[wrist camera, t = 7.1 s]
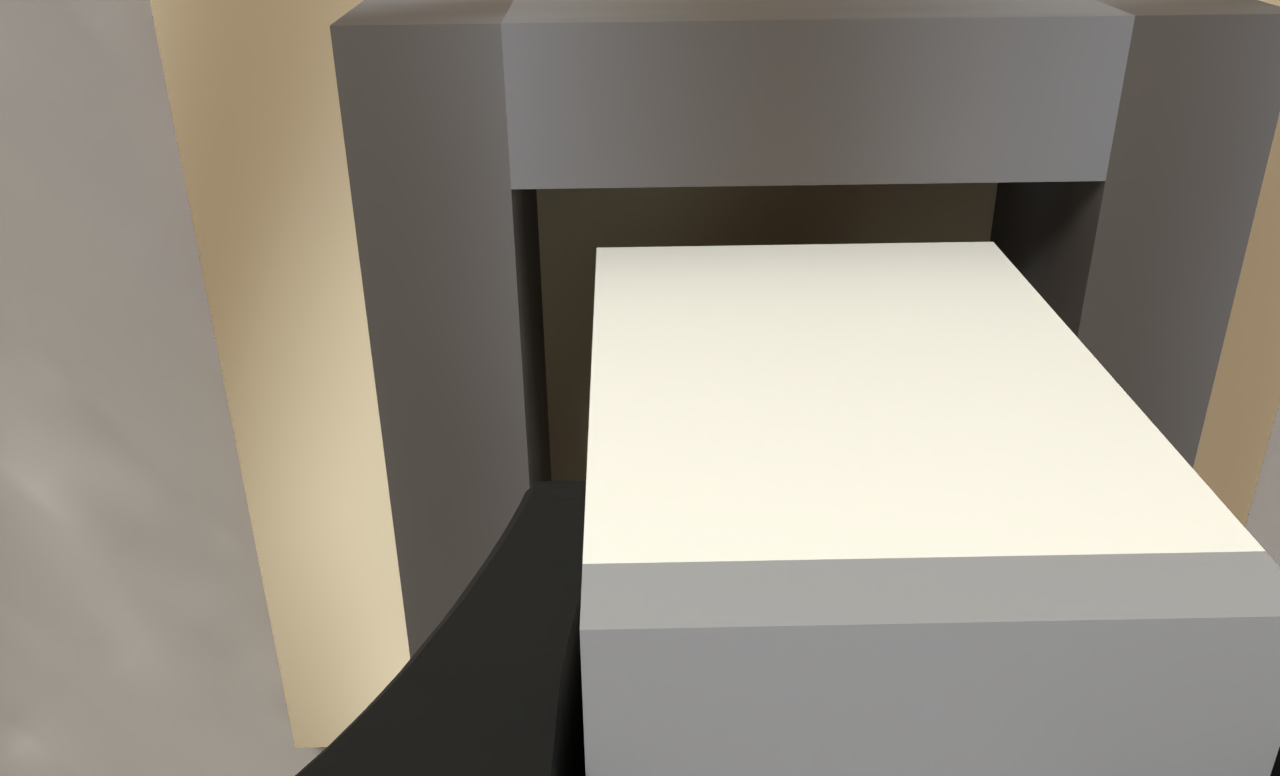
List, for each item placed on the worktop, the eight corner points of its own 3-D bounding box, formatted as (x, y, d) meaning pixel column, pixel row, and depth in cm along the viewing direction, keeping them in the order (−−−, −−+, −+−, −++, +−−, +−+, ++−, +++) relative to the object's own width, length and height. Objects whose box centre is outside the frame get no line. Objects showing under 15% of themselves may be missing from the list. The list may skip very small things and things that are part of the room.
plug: (992, 242, 11) (1322, 616, 6) (938, 634, 14) (1144, 1158, 8) (596, 247, 11) (578, 631, 6) (607, 641, 14) (601, 1175, 8)
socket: (1415, -201, 12) (1683, -207, 9) (1175, 708, 18) (1289, 891, 15) (130, -189, 12) (-34, -189, 9) (302, 724, 18) (237, 914, 15)
